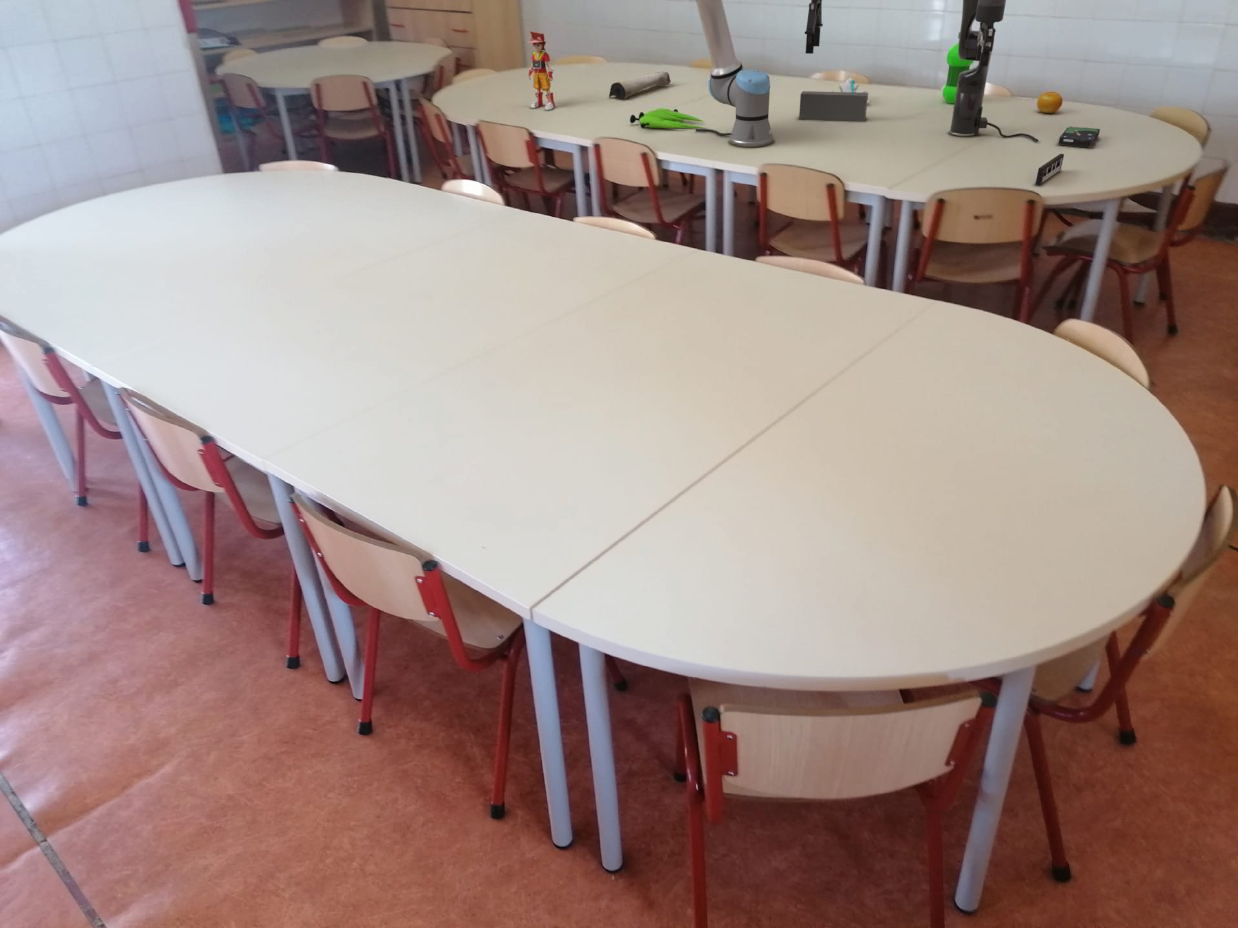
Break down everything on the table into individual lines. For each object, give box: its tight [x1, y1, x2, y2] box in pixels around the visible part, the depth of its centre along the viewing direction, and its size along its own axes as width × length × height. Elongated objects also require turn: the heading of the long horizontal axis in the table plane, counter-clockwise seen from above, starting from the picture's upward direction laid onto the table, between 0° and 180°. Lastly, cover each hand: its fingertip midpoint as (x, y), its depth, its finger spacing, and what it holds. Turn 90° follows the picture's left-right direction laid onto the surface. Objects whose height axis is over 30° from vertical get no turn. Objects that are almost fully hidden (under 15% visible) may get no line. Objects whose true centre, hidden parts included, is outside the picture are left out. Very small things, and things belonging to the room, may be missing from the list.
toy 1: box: [527, 31, 556, 111], centre depth 374 cm, size 12×9×30 cm
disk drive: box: [1057, 126, 1101, 148], centre depth 303 cm, size 10×3×15 cm
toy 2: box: [629, 107, 705, 129], centre depth 347 cm, size 28×5×30 cm
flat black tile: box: [1035, 153, 1065, 186], centre depth 273 cm, size 18×1×5 cm, turn 138°
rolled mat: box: [608, 71, 672, 101], centre depth 395 cm, size 30×9×10 cm
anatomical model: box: [838, 76, 872, 105], centre depth 360 cm, size 15×10×10 cm
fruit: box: [1036, 91, 1064, 114], centre depth 334 cm, size 8×8×8 cm
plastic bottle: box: [942, 31, 974, 104], centre depth 348 cm, size 10×10×25 cm
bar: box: [798, 90, 869, 122], centre depth 341 cm, size 25×4×9 cm, turn 70°
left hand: (812, 50), depth 333 cm, fingers open, 13 cm apart
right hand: (981, 63), depth 266 cm, fingers open, 8 cm apart
